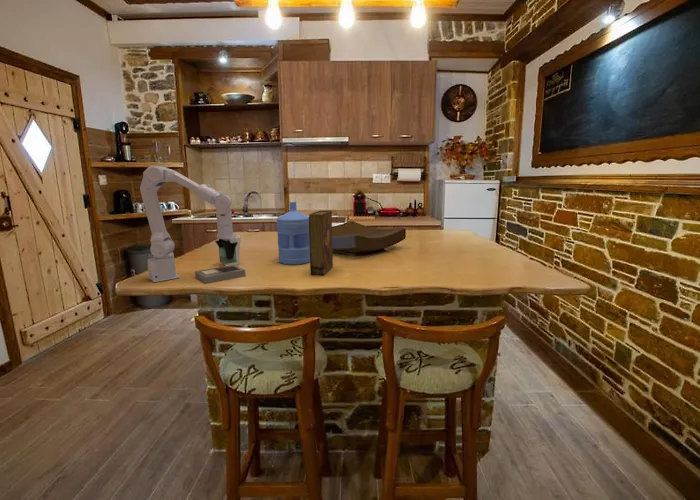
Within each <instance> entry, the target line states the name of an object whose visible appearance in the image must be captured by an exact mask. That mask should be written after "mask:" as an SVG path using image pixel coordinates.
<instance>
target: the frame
mask: <svg viewBox="0 0 700 500" xmlns="http://www.w3.org/2000/svg"><path fill="white" fill-rule="evenodd" d="M194 276H195V278H196V279H197V278H198V279H197V280H198V281H200V282H202V283H204V284H213V283H216V282H217V283H218V282H222V281H227V280H233V279H236V278H241V277H243V278H244V277H246V270H245V269H244V268H241V267H239V266H238V265H229V266H225V265H224V266H219V267H212V268H207V269H206V268H205V269H201V270H200V269H199V270H196V271H194Z"/></svg>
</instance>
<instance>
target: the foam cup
mask: <svg viewBox="0 0 700 500" xmlns="http://www.w3.org/2000/svg"><path fill="white" fill-rule="evenodd" d="M235 235H236V237H235V238H236V242H237V245H236V261H237V262H234V263H228V264H224V266H225V265H228V266H229V265H235V266H238V265H239V264H240V252H241V241H242V240H241V235H240V234H239V235H238V234H235Z"/></svg>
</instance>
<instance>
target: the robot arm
mask: <svg viewBox="0 0 700 500" xmlns="http://www.w3.org/2000/svg"><path fill="white" fill-rule="evenodd" d="M142 174H143V175H142V180H141V182H140V187H139V191H140V194H141V198H142V202H143V206H144V209H145V214H146V217H147V221H148V225H149V228H150V233H151V235H150V248H149V249H150V250H149V251H150V253H151V254H152V256H153V257H151V258H148V259H147V270H148V277H149V278H148V279H150V280H151V281H152V282H153V283H158V282H163V281H169V280H174V279H179V278H180V276H179V275H178V274H177V272H176V262H175V253H174V252H173V251H175V248H176V244H175V242H174V240H173V239H172V238H171V235H170V233H169V232H168V231H167V228H166V225H165V220H164V217H163V213H162V212H163V211H162V209H161V208H162V207H161V204H160V200H159V197H158V193H157V192H158V190H159V189H160V188H161V187H162V186H163V185H164V184H167V183H176V184H178V185H181V186H182V187H184V188H186V189H189V190H190V191H192V192H194V193H195V195H196V197H197V198H199V199H200V200H203V201H205V202H206V203H209V204H210V205H214V208H215V209H216V224H217V226H216V227H217V233H216V239H217V240H215V244H216V245H217V247H218V249H219V248H220V247H224V248H225V251H226V256H227V259H228V260H229V259H233V257H234V251H235V248H236V245H237V242H236V238H235V237H236V235H237V234H234V229H233V216H232V215H233V214H232V207H231V206H232V199H231V197H230V196H229V195H228V194H226V193H222V191H220V190H219V191H218V190H217V189H215V188H213V187H212V186H211V184H209V183H208V184H205V183H202V184H199V183H197V182H196V181H193V180H192V179H190V178H189V177H186V176H185V175H183V174H182V173H180V172H178V171H176V170H174V169H171V168H168V167H167V166H165V165H160V166H159V165H150V166H148V167H147V168H146V169H145V170H144V171H143V172H142Z"/></svg>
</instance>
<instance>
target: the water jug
mask: <svg viewBox="0 0 700 500" xmlns="http://www.w3.org/2000/svg"><path fill="white" fill-rule="evenodd" d="M276 229H277V246H278V249H277V250H278V262H279V263H280V264H283V265H288V266H289V265H290V266H293V265H295V266H296V265H305V264H308V263H310V241H309V215H306V214H304V213H303V212H299V211H298V210H297V201H290V202H289V211H287V212H286V213H284V214H282V215H281V216H278V217H277V218H276Z"/></svg>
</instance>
